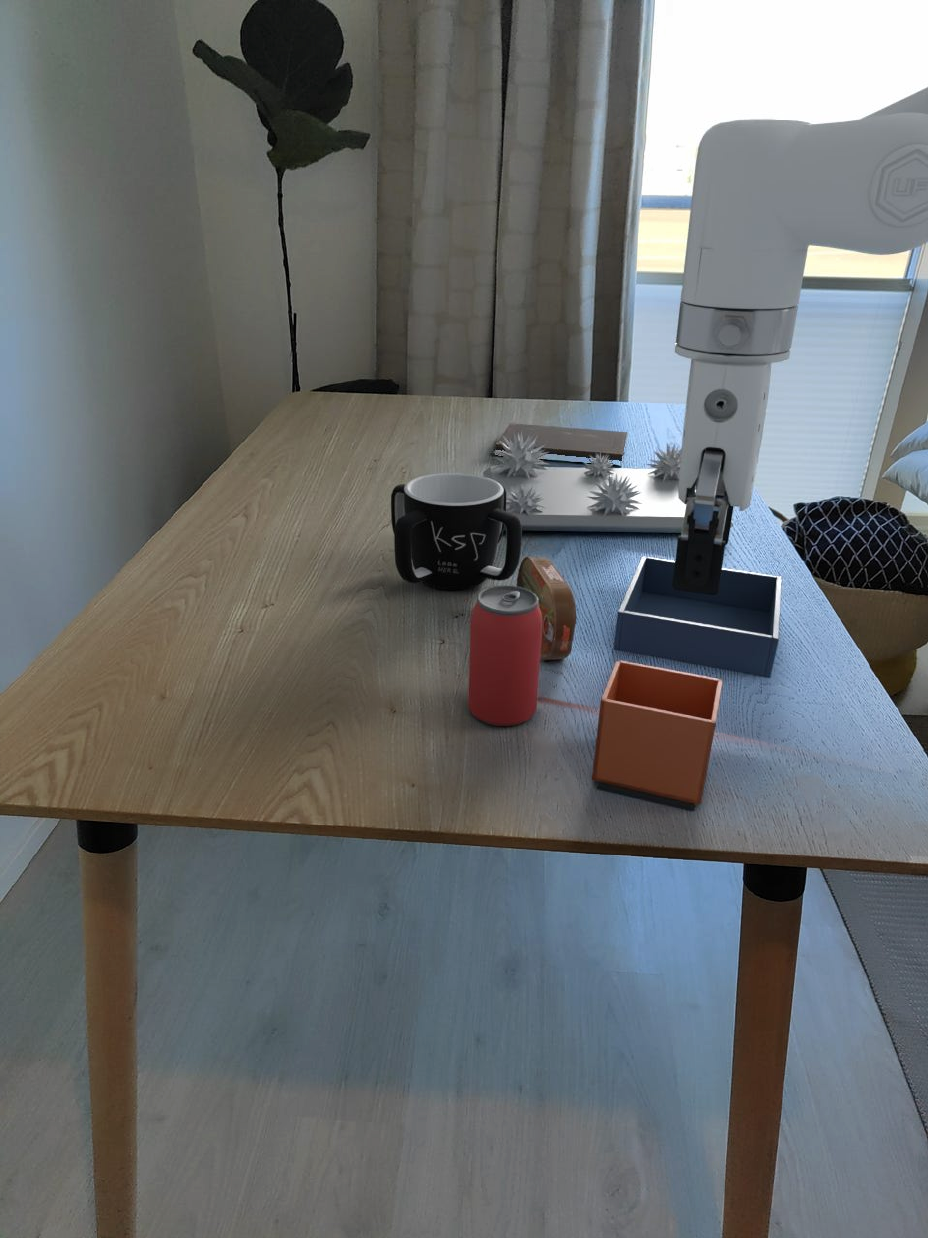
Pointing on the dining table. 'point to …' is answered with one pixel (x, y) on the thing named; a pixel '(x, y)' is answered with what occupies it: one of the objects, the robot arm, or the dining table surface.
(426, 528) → the mug
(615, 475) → the decorative tray
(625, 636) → the box
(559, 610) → the tin
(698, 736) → the small bin
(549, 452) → the hardcover book
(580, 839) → the dining table surface
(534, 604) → the beer can
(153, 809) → the dining table surface
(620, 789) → the mat
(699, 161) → the robot arm
